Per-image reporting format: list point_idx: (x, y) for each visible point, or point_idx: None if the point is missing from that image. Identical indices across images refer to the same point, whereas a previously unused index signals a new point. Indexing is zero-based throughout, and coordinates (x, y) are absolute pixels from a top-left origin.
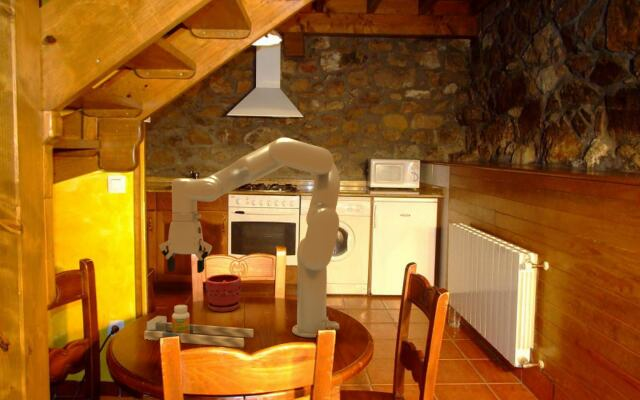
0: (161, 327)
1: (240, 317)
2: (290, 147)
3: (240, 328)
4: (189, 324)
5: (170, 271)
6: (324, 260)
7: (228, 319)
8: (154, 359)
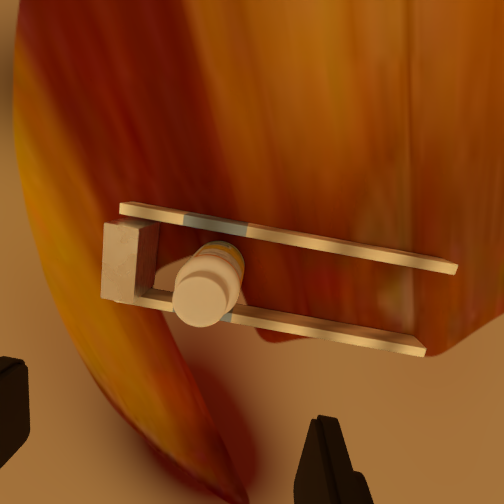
0: (148, 257)
1: (390, 24)
2: None
3: (413, 261)
4: (241, 274)
5: (25, 433)
6: None
7: (343, 59)
8: (208, 415)
